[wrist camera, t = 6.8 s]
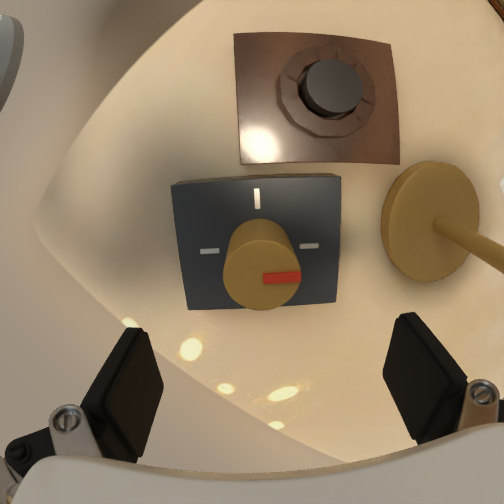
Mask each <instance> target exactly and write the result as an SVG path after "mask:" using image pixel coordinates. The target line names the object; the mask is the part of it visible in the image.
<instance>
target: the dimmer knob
mask: <svg viewBox="0 0 504 504" xmlns="http://www.w3.org/2000/svg"><path fill="white" fill-rule="evenodd" d="M223 281H224V285H225V288H226V290H227V292H228V294H229V295H230V296H231V297H232V299H233V300H235V301H236V302H237V303H238V304H240V305H242V306H244V307H246V308H249V309H252V310H270V309H274V308H277V307H279V306H281V305H283V304H284V303H286V302H287V301H288V300H290V298H291V297H292V296H293V295H294V294H295V292H296V290H297V289H298V286H299V284H300V282H301V270H300V265H299V262H298V260H297V257H296V255H295V252H294V250H293V248H292V245H291V243H290V240H289V238H288V236H287V234H286V232H285V231H284V229H283V228H282V227H281V226H279V225H278V224H277V223H275V222H273V221H271V220H267V219H253V220H249V221H247V222H245V223H243V224H241V225H240V226H239V227H238V228H237V229H236V230H235V231H234V233H233V234H232V236H231V239H230V242H229V247H228V251H227V256H226V260H225V265H224V269H223Z"/></svg>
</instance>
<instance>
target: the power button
mask: <svg viewBox="0 0 504 504" xmlns="http://www.w3.org/2000/svg"><path fill="white" fill-rule="evenodd" d="M301 90H302V95H303V97H304V99H305V101H306V103H307V104H308V105H309V106H310V107H311V108H312V109H313V110H315V111H316V112H318V113H320V114H323V115H327V116H335V115H339V114H342V113H345V112H348V111H350V110H352V109H353V108H355V107H356V106H357V105H358V104H359V102H360V100H361V98H362V94H363V86H362V82H361V79H360V77H359V75H358V74H357V72H356V71H355V70H354V69H353V68H352V67H351V66H350V65H348V64H347V63H345V62H343V61H340V60H336V59H324V60H321V61H318V62H317V63H315V64H314V65H313V66H312V67H311V68H310V69H309V71H308V72H307V73H306V75H305V76H304V78H303V81H302V85H301Z"/></svg>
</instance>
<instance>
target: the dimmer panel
mask: <svg viewBox="0 0 504 504" xmlns="http://www.w3.org/2000/svg"><path fill="white" fill-rule="evenodd" d="M171 194H172V203H173V212H174V221H175V229H176V236H177V244H178V251H179V258H180V264H181V271H182V277H183V283H184V289H185V295H186V301H187V307H188V310H213V309H241V308H246V307H244V306H242V305H240V304H238V303H237V302H236V301H235V300H233V299H232V297H231V296H230V295H229V294H228V292H227V290H226V288H225V285H224V281H223V269H224V265H225V260H226V256H227V251H228V247H229V242H230V239H231V236H232V234H233V233H234V231H235V230H236V229H237V228H238V227H239V226H240V225H241V224H243V223H245V222H247V221H249V220H253V219H267V220H271V221H273V222H275V223H277V224H278V225H279V226H281V227H282V228H283V229H284V231H285V232H286V234H287V236H288V238H289V240H290V243H291V245H292V248H293V250H294V252H295V255H296V257H297V260H298V262H299V265H300V270H301V282H300V284H299V286H298V289H297V290H296V292H295V294H294V295H293V296H292V297H291V298H290V300H288V301H287V302H286V303H284V304H283V305H281V306H295V305H309V304H322V303H333V302H336V294H337V281H338V267H339V249H340V224H341V177H340V176H337V175H334V174H280V175H256V176H239V177H224V178H210V179H199V180H188V181H179V182H177V183H175V184H172V185H171ZM279 307H280V306H279Z"/></svg>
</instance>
